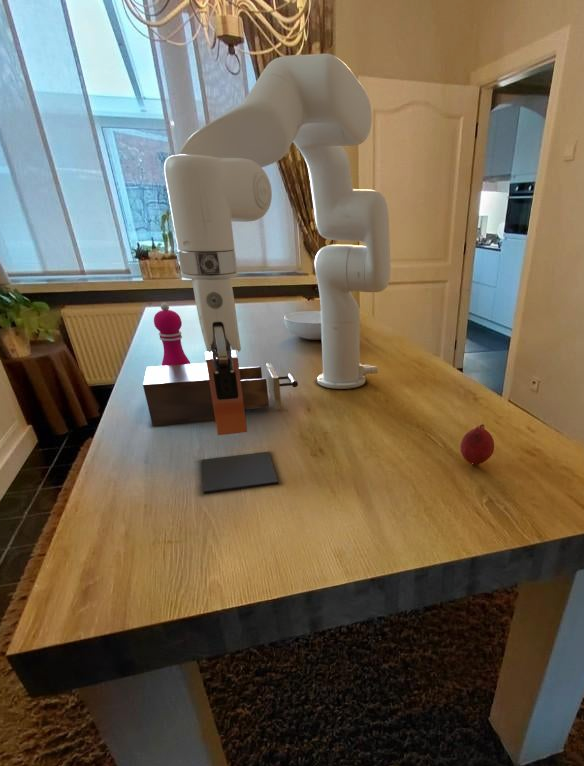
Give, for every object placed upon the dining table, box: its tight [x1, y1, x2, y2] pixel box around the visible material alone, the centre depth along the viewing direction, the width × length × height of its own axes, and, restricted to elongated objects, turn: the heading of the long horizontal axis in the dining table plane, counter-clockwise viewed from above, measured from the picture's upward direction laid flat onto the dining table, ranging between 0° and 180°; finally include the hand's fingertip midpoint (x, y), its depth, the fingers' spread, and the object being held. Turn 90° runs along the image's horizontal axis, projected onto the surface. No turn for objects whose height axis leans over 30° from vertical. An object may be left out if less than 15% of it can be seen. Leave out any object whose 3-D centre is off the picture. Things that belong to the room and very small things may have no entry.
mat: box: [201, 451, 279, 494], centre depth 86 cm, size 12×12×1 cm
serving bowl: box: [283, 310, 322, 341], centre depth 168 cm, size 21×21×7 cm
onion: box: [460, 422, 495, 467], centre depth 87 cm, size 6×6×8 cm
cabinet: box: [142, 362, 216, 427], centre depth 107 cm, size 15×13×9 cm
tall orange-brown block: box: [204, 349, 248, 436], centre depth 78 cm, size 5×5×12 cm
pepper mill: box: [153, 302, 192, 366], centre depth 117 cm, size 7×7×20 cm
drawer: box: [239, 362, 299, 410], centre depth 111 cm, size 18×12×7 cm, turn 107°
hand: (226, 391), depth 78 cm, fingers closed on tall orange-brown block, 4 cm apart
